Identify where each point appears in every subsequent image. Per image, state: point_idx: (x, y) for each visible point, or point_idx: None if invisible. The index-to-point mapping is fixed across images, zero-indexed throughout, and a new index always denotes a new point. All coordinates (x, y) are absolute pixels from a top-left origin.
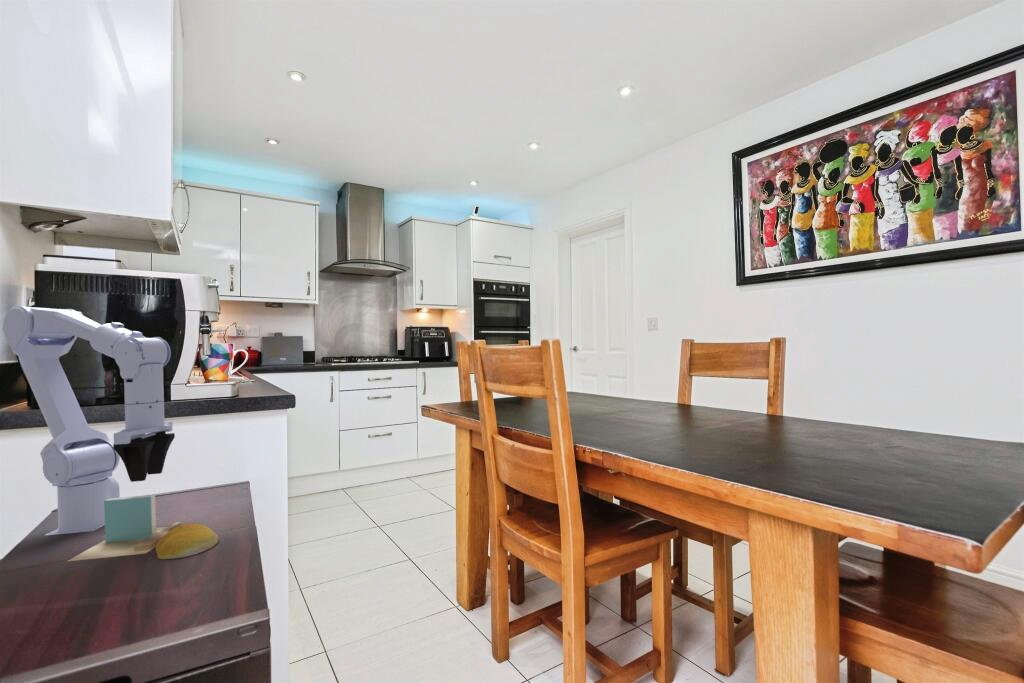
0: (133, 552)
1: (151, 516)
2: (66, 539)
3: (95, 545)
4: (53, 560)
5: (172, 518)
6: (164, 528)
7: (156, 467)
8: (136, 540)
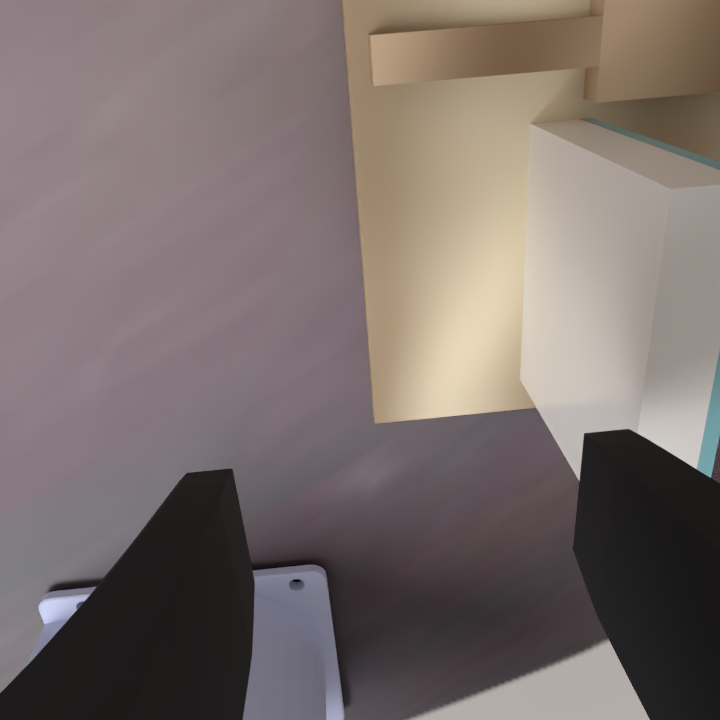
0: None
1: (650, 144)
2: (378, 620)
3: None
4: None
5: (85, 278)
6: (395, 149)
7: (224, 568)
8: None
